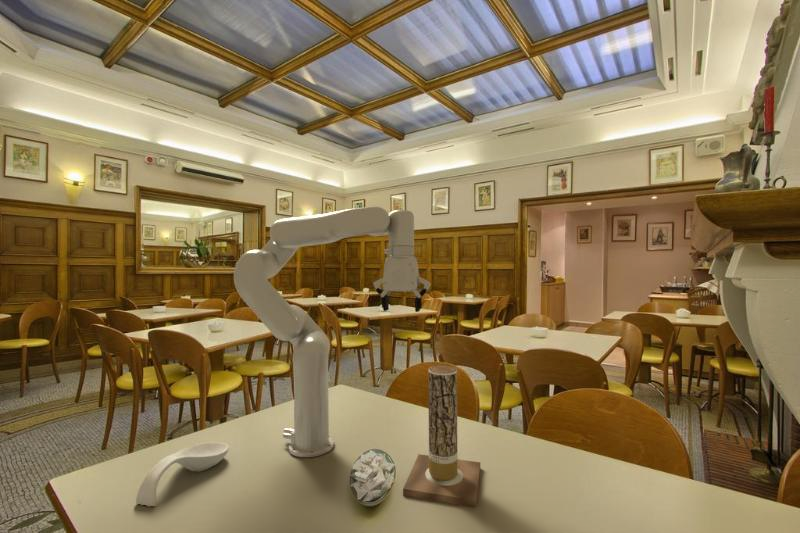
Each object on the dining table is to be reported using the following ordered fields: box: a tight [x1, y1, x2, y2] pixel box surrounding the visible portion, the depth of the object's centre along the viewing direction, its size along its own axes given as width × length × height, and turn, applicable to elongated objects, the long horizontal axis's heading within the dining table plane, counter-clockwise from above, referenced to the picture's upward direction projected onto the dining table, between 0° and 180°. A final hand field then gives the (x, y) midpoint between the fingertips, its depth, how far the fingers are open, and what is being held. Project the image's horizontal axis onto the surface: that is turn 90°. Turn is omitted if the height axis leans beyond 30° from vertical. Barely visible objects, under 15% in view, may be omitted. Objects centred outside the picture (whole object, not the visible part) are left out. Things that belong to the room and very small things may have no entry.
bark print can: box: [428, 365, 458, 481], centre depth 88 cm, size 7×7×25 cm
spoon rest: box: [135, 441, 230, 507], centre depth 91 cm, size 24×12×7 cm, turn 169°
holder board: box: [402, 453, 481, 508], centre depth 88 cm, size 16×16×2 cm
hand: (401, 310), depth 109 cm, fingers open, 9 cm apart
